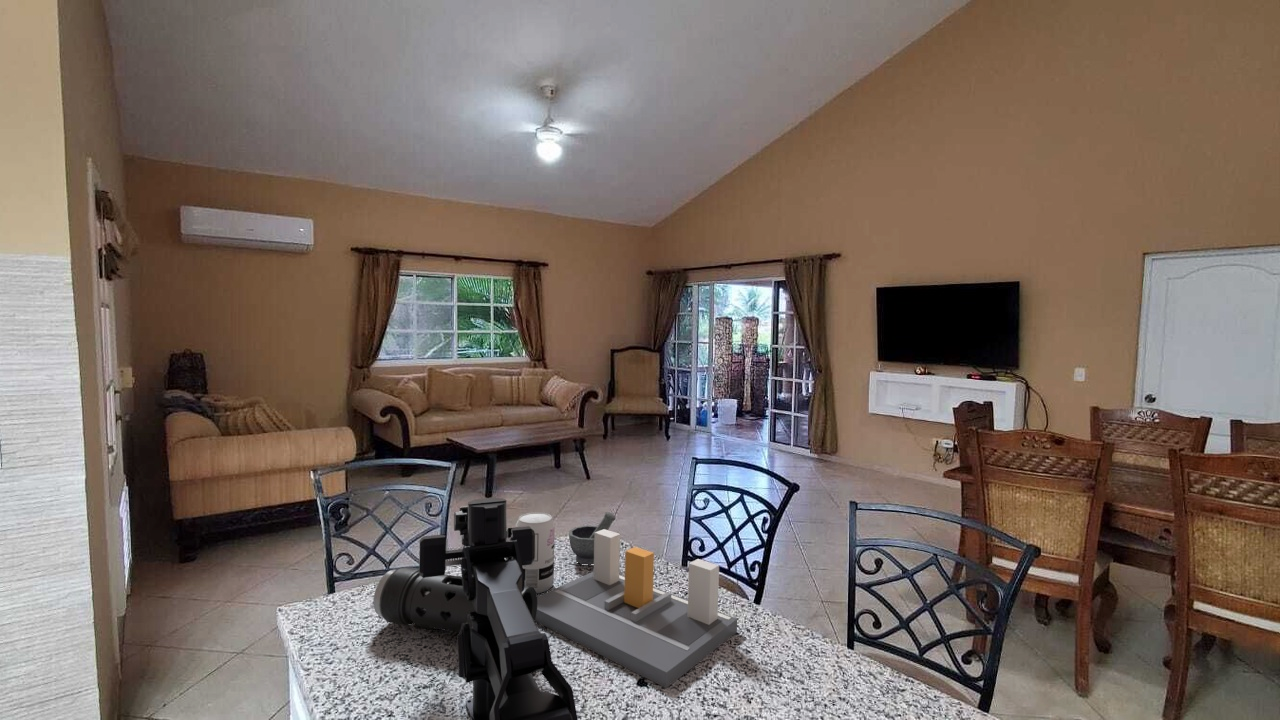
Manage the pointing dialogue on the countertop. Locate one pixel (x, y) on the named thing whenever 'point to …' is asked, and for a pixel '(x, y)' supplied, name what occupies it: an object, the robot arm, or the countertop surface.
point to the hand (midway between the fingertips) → (472, 538)
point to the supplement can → (540, 551)
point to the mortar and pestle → (587, 539)
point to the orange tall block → (638, 577)
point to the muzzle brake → (429, 600)
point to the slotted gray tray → (639, 617)
